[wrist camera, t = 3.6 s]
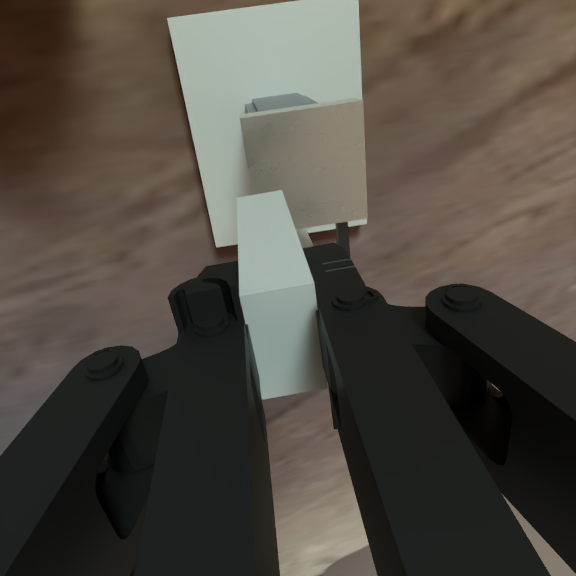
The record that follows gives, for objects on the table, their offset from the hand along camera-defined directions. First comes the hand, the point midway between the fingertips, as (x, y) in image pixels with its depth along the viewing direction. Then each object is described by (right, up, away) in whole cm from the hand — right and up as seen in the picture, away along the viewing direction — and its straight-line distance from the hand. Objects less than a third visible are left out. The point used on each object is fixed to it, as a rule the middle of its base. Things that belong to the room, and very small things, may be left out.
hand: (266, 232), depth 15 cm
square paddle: (+1, +6, +17) cm, 19 cm away
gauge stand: (0, +12, +23) cm, 26 cm away
